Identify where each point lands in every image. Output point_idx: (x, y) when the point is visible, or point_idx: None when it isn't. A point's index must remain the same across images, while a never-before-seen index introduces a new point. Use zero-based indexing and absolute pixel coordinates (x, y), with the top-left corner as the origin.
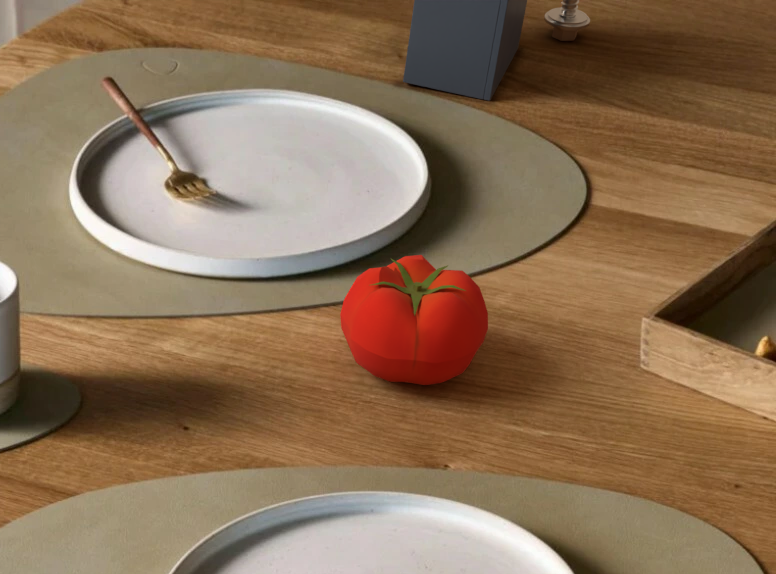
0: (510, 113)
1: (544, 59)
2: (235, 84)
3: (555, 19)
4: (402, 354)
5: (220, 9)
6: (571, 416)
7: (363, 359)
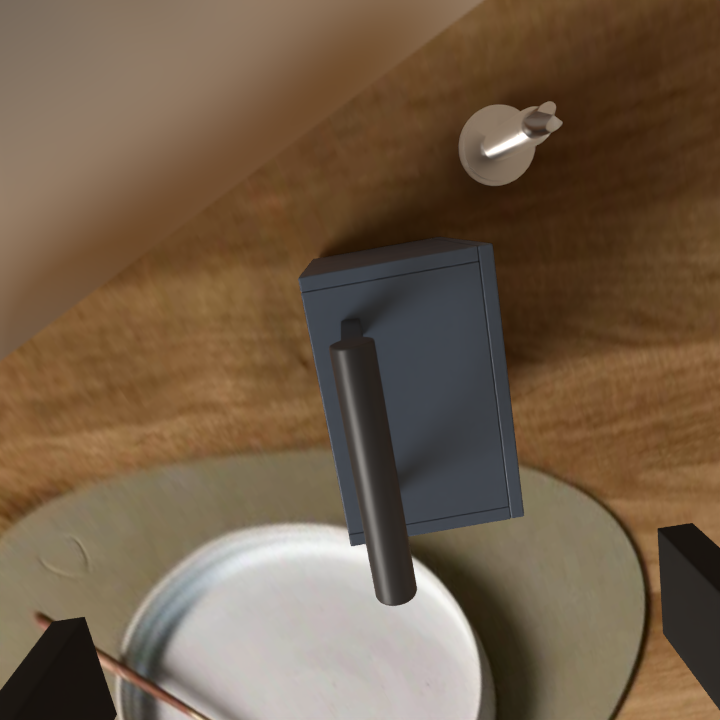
0: None
1: None
2: (170, 551)
3: (485, 176)
4: None
5: (6, 361)
6: None
7: None
